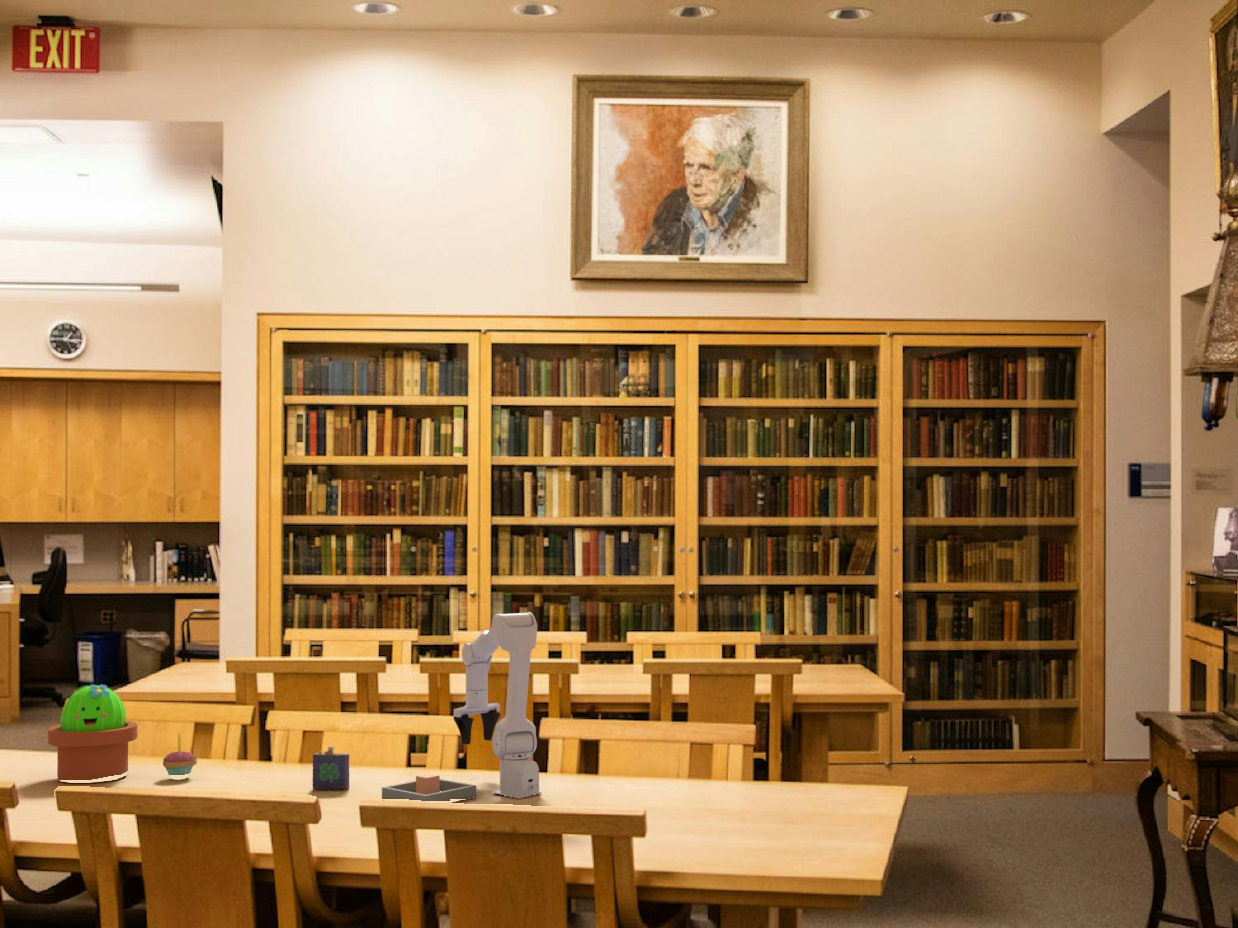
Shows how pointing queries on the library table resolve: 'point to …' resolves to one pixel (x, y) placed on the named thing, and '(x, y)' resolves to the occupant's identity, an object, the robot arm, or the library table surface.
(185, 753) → the cupcake
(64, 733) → the potted cactus
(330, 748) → the flask
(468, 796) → the bin
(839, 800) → the library table surface
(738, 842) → the library table surface
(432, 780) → the block
